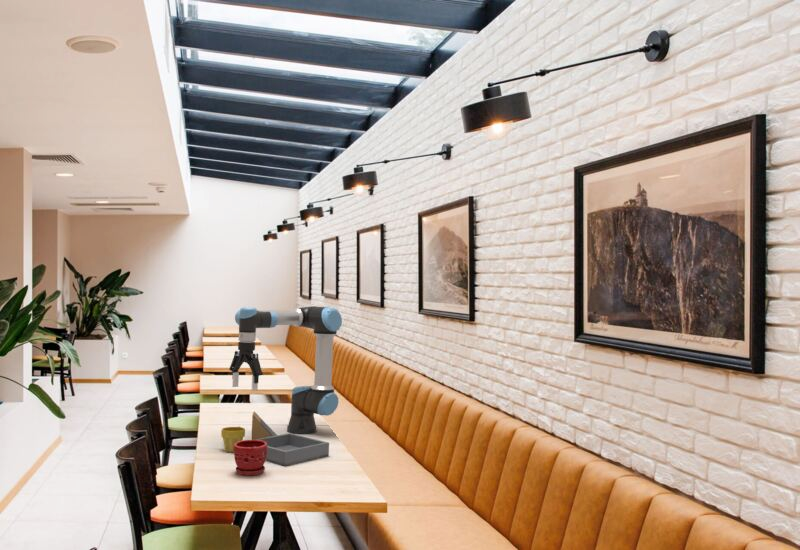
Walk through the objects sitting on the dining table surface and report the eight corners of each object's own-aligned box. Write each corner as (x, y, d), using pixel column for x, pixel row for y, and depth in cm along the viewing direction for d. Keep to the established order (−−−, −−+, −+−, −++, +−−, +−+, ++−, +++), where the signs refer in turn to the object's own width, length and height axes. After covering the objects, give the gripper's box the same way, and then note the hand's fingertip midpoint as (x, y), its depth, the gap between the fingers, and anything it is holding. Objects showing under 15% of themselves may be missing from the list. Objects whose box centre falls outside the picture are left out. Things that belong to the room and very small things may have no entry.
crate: (288, 445, 336) (289, 433, 336) (328, 456, 319) (329, 442, 320) (244, 454, 316) (245, 441, 316) (284, 466, 299) (285, 451, 299)
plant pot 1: (222, 447, 327) (223, 426, 327) (245, 448, 328) (246, 426, 328) (218, 452, 317) (219, 430, 317) (242, 453, 318) (243, 431, 318)
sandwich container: (284, 446, 334) (285, 414, 334) (251, 446, 332) (252, 414, 332) (284, 442, 343) (286, 411, 343) (252, 442, 341) (253, 410, 341)
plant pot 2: (237, 467, 294) (238, 438, 294) (269, 469, 294) (270, 440, 294) (228, 476, 281) (230, 445, 281) (262, 478, 281) (263, 447, 281)
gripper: (222, 339, 328) (220, 385, 328) (258, 344, 312) (256, 393, 312) (236, 339, 334) (234, 384, 334) (271, 343, 318) (269, 391, 318)
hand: (244, 388), depth 323 cm, fingers open, 13 cm apart
